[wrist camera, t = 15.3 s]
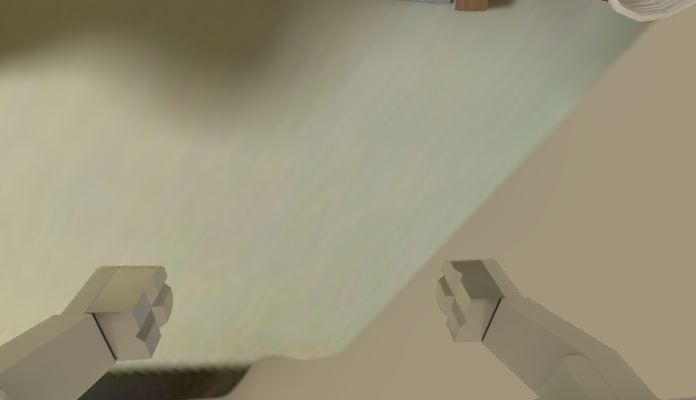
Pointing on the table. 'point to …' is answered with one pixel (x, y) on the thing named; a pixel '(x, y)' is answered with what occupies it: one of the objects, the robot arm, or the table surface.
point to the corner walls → (471, 5)
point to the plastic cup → (650, 8)
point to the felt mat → (434, 0)
